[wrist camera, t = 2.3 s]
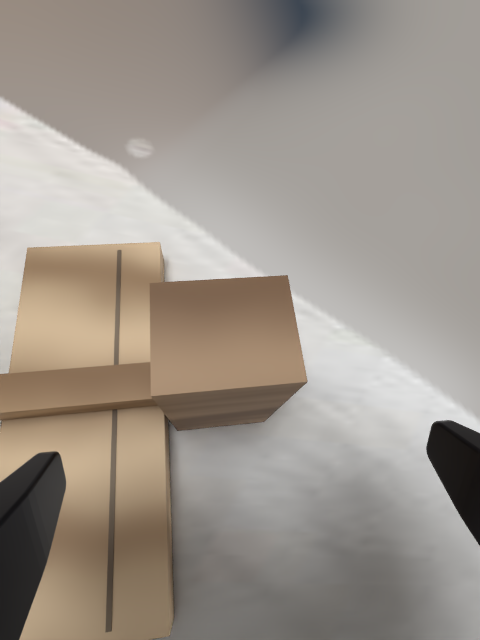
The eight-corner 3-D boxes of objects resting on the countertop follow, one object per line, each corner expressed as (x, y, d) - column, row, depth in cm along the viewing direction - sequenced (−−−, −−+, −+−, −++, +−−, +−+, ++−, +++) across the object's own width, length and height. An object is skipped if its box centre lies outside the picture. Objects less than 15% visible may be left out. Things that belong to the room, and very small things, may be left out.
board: (173, 618, 17) (169, 636, 15) (-8, 647, 16) (-37, 672, 14) (163, 259, 24) (159, 241, 22) (41, 265, 23) (27, 247, 22)
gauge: (274, 420, 21) (326, 380, 12) (-2, 449, 19) (-199, 428, 10) (265, 355, 22) (304, 274, 13) (9, 376, 20) (-152, 299, 11)
